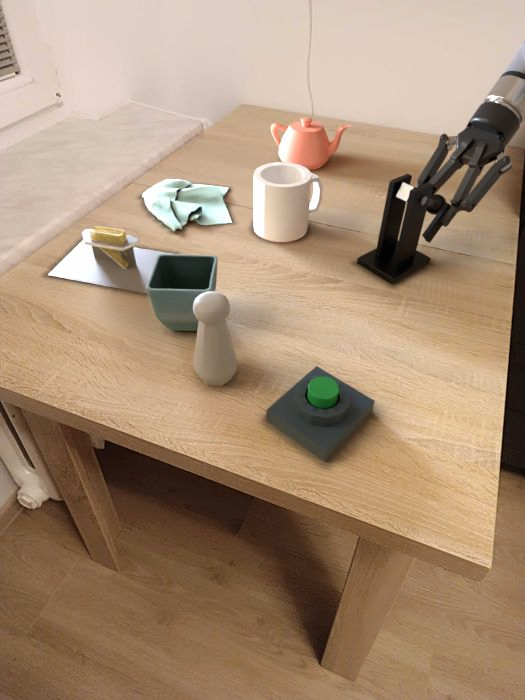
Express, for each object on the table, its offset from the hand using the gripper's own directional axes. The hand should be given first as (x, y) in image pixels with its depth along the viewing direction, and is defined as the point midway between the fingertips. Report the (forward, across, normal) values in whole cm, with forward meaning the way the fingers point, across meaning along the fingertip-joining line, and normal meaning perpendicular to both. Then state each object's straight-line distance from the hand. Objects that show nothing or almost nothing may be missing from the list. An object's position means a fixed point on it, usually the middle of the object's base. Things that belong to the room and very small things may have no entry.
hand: (416, 233), depth 87 cm
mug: (+11, +21, +5) cm, 24 cm away
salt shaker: (+35, -3, +28) cm, 45 cm away
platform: (+34, +30, +27) cm, 53 cm away
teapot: (-6, +41, -12) cm, 43 cm away
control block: (+30, -16, +24) cm, 42 cm away
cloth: (+18, +40, +12) cm, 45 cm away
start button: (+28, -16, +27) cm, 42 cm away
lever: (-3, 0, +5) cm, 5 cm away
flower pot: (+32, +9, +26) cm, 43 cm away
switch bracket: (+6, 0, +1) cm, 6 cm away
